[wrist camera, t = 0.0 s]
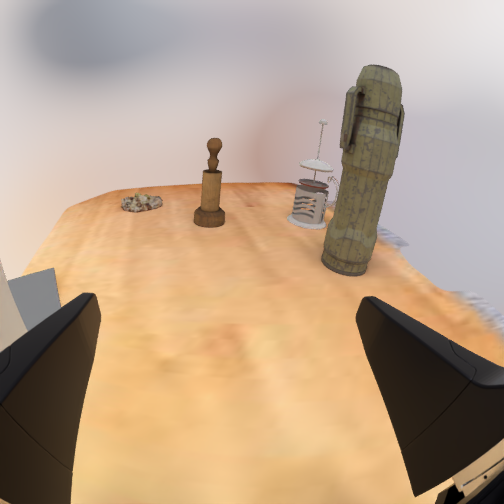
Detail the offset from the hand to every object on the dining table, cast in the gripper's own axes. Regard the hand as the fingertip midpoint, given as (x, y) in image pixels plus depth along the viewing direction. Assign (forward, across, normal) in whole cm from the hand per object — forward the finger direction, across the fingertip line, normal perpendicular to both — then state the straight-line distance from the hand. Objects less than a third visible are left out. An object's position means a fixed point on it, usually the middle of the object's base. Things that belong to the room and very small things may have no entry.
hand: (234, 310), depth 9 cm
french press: (+53, -24, +17) cm, 60 cm away
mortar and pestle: (+50, 0, +17) cm, 52 cm away
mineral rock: (+59, +17, +17) cm, 63 cm away
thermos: (+33, -24, +17) cm, 44 cm away
